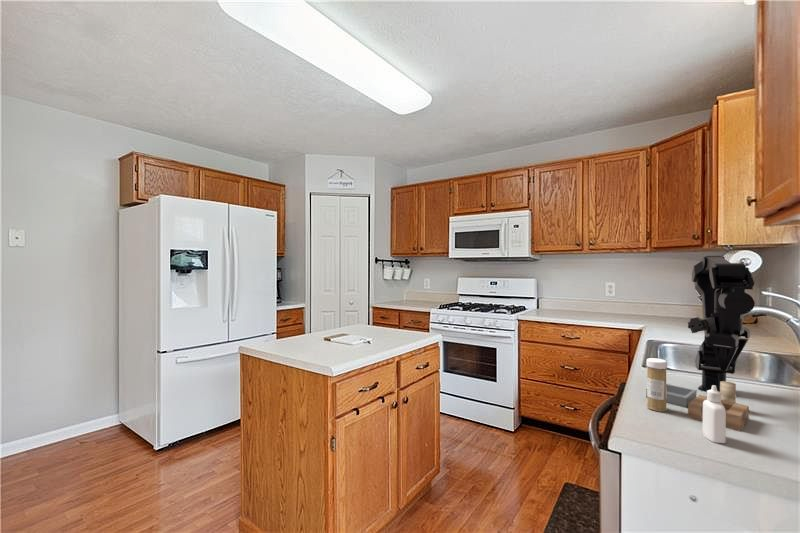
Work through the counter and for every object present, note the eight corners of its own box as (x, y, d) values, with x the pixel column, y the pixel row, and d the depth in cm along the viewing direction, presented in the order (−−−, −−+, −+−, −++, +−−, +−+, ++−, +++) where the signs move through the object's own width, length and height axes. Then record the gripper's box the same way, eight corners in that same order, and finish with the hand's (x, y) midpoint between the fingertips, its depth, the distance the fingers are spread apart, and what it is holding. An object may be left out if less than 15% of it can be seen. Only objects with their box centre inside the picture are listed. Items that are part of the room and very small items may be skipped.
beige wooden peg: (721, 405, 103) (721, 380, 103) (736, 409, 101) (737, 383, 101) (718, 408, 101) (718, 382, 101) (733, 412, 99) (734, 385, 99)
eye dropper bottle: (728, 437, 85) (728, 385, 85) (724, 445, 81) (725, 391, 81) (703, 431, 88) (704, 380, 88) (699, 438, 84) (699, 386, 84)
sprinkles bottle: (669, 409, 101) (670, 360, 100) (662, 413, 98) (662, 362, 98) (650, 404, 104) (651, 356, 104) (643, 408, 102) (643, 359, 102)
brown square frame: (699, 407, 102) (699, 394, 102) (748, 419, 94) (748, 405, 94) (688, 417, 96) (688, 403, 96) (740, 431, 88) (740, 416, 88)
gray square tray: (657, 390, 115) (657, 381, 115) (696, 399, 108) (696, 390, 108) (646, 397, 109) (646, 388, 109) (686, 407, 102) (686, 398, 102)
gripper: (700, 303, 113) (700, 355, 113) (681, 309, 101) (680, 366, 102) (750, 307, 104) (750, 363, 104) (735, 314, 92) (734, 376, 93)
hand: (727, 366), depth 101 cm, fingers open, 9 cm apart
